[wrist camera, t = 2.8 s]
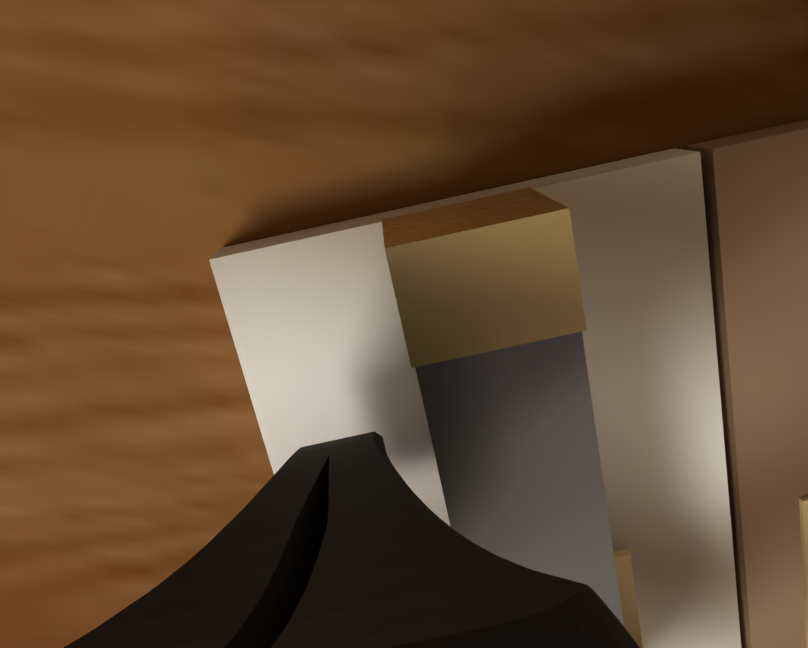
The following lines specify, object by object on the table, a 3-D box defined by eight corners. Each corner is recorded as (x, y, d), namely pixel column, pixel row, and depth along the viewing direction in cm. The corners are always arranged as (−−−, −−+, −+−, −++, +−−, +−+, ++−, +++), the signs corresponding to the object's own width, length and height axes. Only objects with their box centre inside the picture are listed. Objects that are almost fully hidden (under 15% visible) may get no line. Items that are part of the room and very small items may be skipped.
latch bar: (621, 707, 14) (677, 842, 11) (483, 735, 14) (509, 876, 12) (542, 182, 11) (595, 206, 8) (365, 221, 11) (364, 256, 8)
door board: (1116, 713, 16) (1286, 852, 13) (401, 858, 17) (408, 1026, 14) (1196, 33, 12) (1479, 8, 9) (221, 248, 12) (172, 294, 9)
